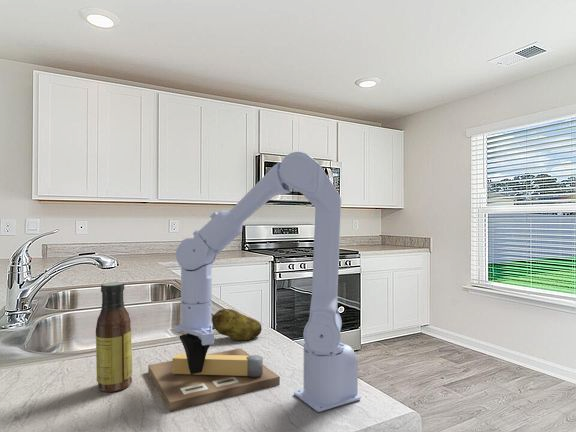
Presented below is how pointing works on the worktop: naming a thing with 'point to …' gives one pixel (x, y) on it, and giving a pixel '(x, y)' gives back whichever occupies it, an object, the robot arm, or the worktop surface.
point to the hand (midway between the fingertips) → (196, 372)
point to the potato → (236, 325)
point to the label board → (205, 384)
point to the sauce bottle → (113, 340)
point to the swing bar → (222, 365)
